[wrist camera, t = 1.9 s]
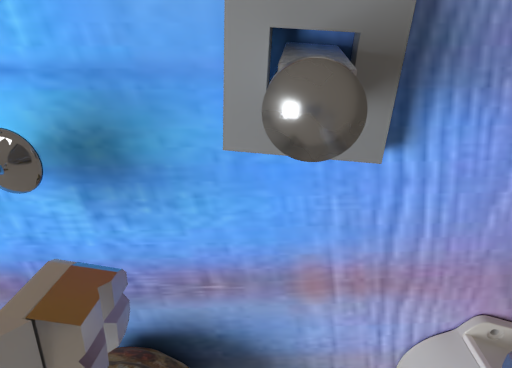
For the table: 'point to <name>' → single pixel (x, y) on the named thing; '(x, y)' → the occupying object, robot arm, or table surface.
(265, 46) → the holder block
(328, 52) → the pin
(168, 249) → the table surface
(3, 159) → the wine glass
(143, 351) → the ceramic vessel
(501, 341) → the robot arm
